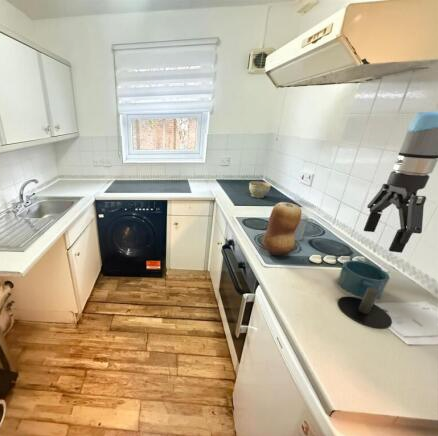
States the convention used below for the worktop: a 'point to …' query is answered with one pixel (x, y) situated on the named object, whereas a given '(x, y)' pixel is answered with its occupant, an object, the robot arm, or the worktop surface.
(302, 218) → the clear glass cylinder
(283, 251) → the butternut squash
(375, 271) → the pot
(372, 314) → the lid
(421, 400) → the worktop surface
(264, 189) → the planter bowl
